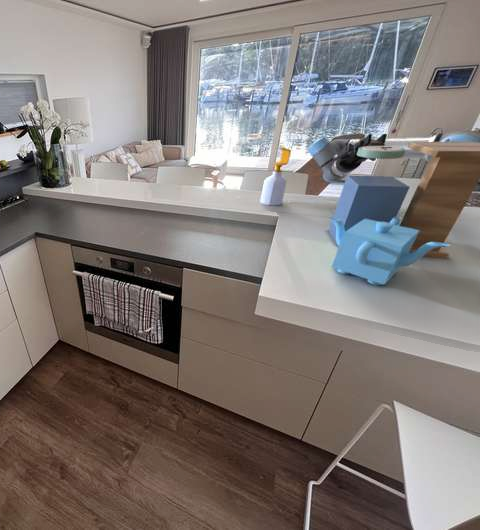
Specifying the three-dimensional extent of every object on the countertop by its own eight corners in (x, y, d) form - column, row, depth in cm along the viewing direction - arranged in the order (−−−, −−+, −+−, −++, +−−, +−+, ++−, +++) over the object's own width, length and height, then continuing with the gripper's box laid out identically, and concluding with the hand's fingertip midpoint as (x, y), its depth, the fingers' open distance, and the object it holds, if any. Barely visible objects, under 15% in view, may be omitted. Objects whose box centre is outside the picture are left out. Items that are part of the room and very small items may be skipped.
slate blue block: (328, 231, 104) (347, 175, 94) (368, 234, 100) (392, 176, 90) (336, 245, 95) (358, 185, 85) (381, 249, 91) (409, 186, 81)
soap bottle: (255, 201, 136) (266, 146, 124) (271, 198, 139) (283, 144, 126) (269, 207, 129) (281, 149, 117) (286, 204, 131) (299, 146, 119)
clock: (343, 147, 102) (346, 138, 101) (381, 147, 99) (384, 137, 97) (363, 158, 85) (366, 148, 84) (409, 159, 81) (414, 147, 80)
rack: (371, 233, 101) (409, 142, 86) (421, 237, 96) (471, 141, 81) (389, 254, 88) (438, 151, 73) (448, 259, 83) (514, 150, 68)
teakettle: (345, 289, 74) (366, 238, 67) (313, 255, 90) (328, 210, 83) (428, 292, 71) (460, 239, 64) (381, 256, 87) (402, 210, 80)
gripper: (370, 173, 110) (407, 150, 88) (321, 172, 115) (344, 150, 93) (373, 153, 110) (411, 125, 88) (324, 153, 115) (348, 127, 93)
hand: (377, 138), depth 90 cm, fingers closed on clock, 3 cm apart
